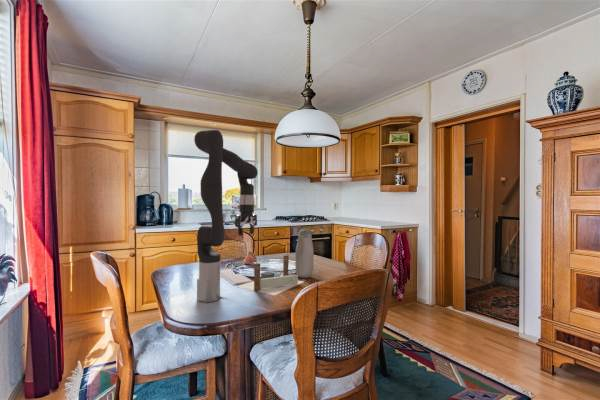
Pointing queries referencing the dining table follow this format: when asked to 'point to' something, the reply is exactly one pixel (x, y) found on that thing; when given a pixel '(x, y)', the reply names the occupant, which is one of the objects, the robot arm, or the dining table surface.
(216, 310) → the dining table surface
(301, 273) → the grey bottle
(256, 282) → the gate frame
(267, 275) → the doorstop
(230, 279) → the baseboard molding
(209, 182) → the robot arm
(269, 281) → the gate door
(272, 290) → the floor mat
